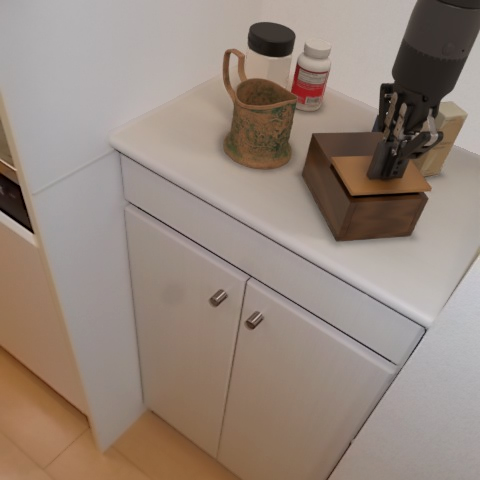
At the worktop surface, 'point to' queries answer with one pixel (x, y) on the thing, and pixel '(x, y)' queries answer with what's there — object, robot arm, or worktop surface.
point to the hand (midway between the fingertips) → (385, 173)
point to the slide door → (378, 174)
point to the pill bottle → (311, 74)
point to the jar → (269, 52)
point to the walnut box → (356, 206)
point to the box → (450, 125)
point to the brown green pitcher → (258, 119)
